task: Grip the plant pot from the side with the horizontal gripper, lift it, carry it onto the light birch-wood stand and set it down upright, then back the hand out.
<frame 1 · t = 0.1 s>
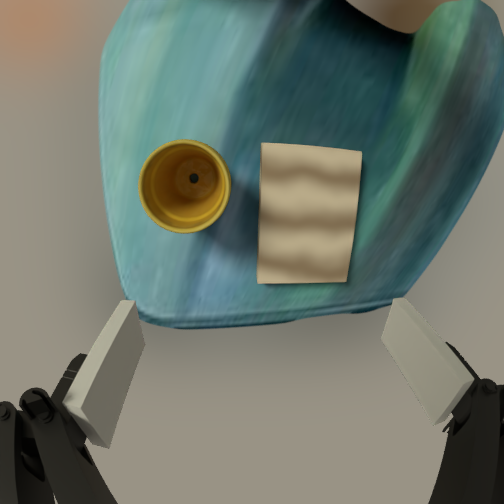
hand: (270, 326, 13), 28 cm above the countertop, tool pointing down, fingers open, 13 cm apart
birch stand: (306, 214, 40), on the countertop
plant pot: (195, 178, 37), on the countertop
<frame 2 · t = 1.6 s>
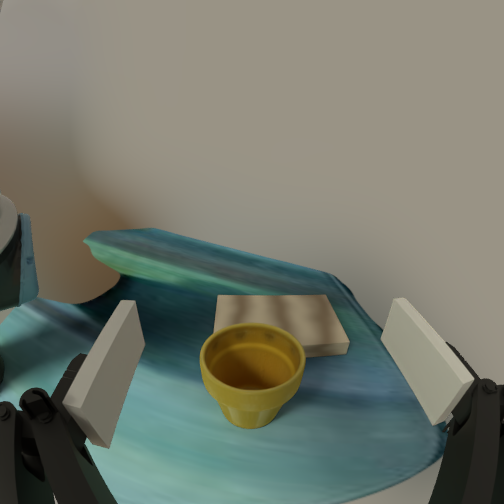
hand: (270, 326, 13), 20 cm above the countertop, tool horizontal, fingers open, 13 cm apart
birch stand: (276, 329, 44), on the countertop
plant pot: (250, 409, 29), on the countertop
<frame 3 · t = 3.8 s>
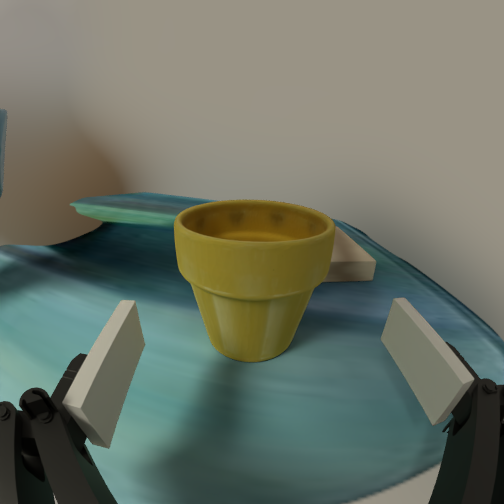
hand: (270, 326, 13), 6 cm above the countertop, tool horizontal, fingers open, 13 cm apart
birch stand: (282, 257, 36), on the countertop
plant pot: (251, 337, 21), on the countertop
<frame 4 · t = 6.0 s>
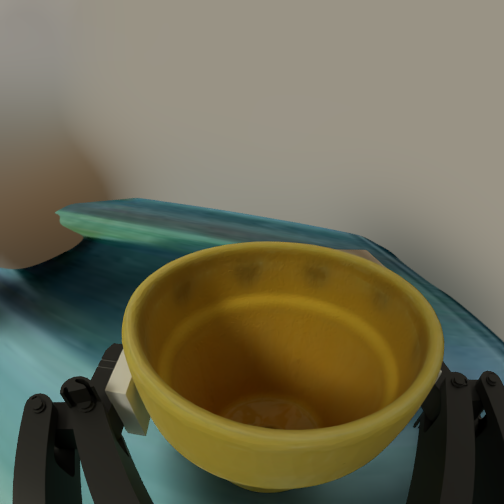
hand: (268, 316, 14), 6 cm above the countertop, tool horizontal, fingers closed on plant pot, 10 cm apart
plant pot: (268, 446, 12), on the countertop, touching gripper
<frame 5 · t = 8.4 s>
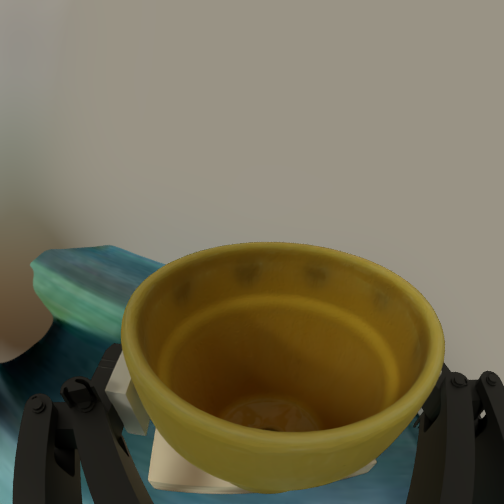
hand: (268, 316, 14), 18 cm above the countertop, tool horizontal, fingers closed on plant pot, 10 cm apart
birch stand: (258, 435, 23), on the countertop
plant pot: (268, 446, 12), point 12 cm above the countertop, touching gripper
when the fingers open (10 cm above the countertop, at t = 10.9 s): plant pot drops 1 cm, resting on birch stand.
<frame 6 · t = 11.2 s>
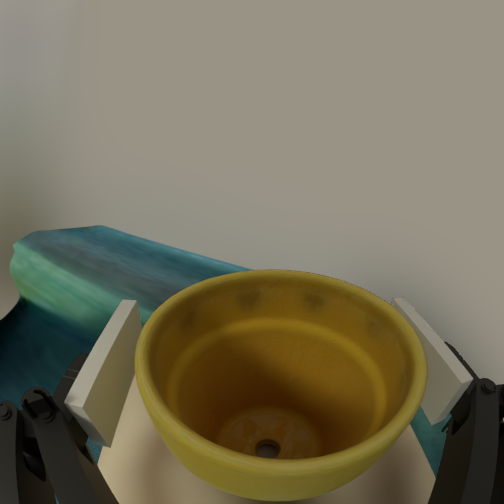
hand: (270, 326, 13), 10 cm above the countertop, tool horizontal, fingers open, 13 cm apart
birch stand: (263, 468, 13), on the countertop
plant pot: (267, 456, 13), point 2 cm above the countertop, touching birch stand
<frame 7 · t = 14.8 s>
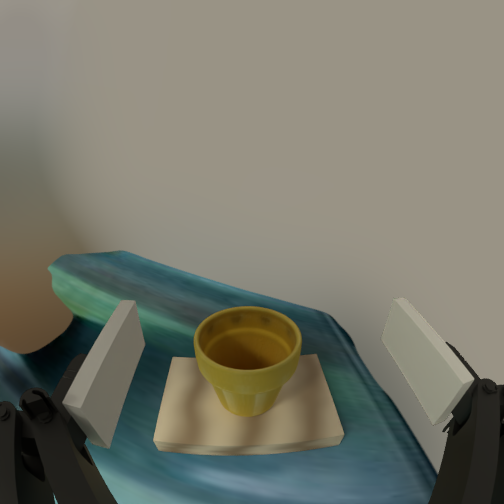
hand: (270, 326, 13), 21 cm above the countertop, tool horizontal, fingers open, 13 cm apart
birch stand: (247, 408, 30), on the countertop
plant pot: (247, 397, 29), point 2 cm above the countertop, touching birch stand
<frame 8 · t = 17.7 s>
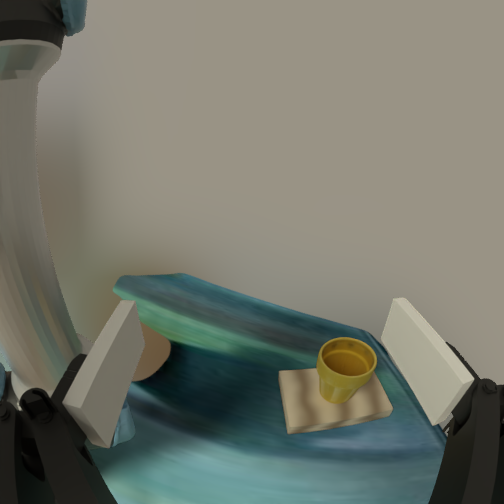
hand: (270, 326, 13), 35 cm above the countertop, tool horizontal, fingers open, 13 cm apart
birch stand: (332, 399, 46), on the countertop
plant pot: (336, 392, 45), point 2 cm above the countertop, touching birch stand
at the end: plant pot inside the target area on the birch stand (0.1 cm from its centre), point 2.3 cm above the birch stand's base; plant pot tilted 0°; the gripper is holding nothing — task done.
